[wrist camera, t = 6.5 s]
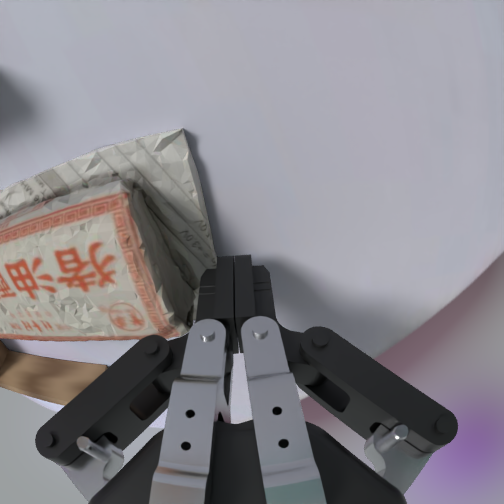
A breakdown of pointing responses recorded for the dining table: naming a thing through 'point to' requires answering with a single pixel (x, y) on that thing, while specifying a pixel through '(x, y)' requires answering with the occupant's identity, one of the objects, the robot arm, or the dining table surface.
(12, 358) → the frame
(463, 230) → the dining table surface
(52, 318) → the packaged product
